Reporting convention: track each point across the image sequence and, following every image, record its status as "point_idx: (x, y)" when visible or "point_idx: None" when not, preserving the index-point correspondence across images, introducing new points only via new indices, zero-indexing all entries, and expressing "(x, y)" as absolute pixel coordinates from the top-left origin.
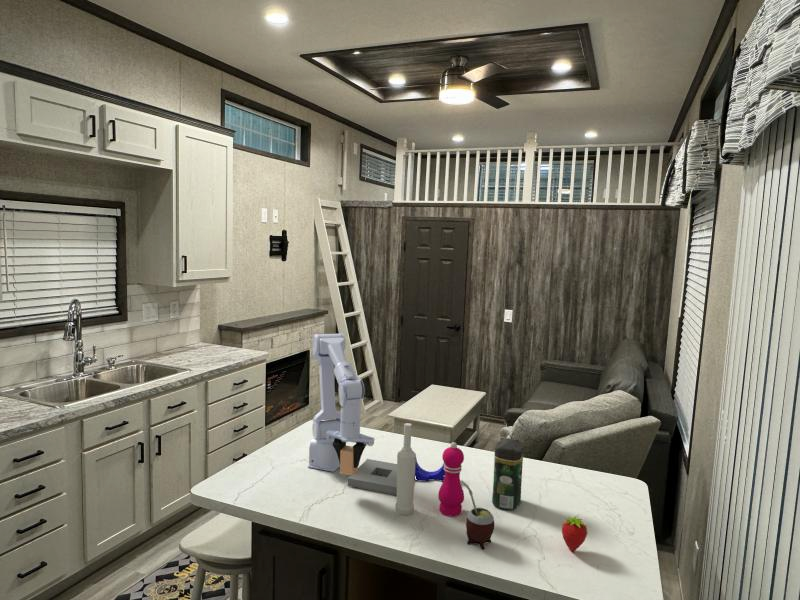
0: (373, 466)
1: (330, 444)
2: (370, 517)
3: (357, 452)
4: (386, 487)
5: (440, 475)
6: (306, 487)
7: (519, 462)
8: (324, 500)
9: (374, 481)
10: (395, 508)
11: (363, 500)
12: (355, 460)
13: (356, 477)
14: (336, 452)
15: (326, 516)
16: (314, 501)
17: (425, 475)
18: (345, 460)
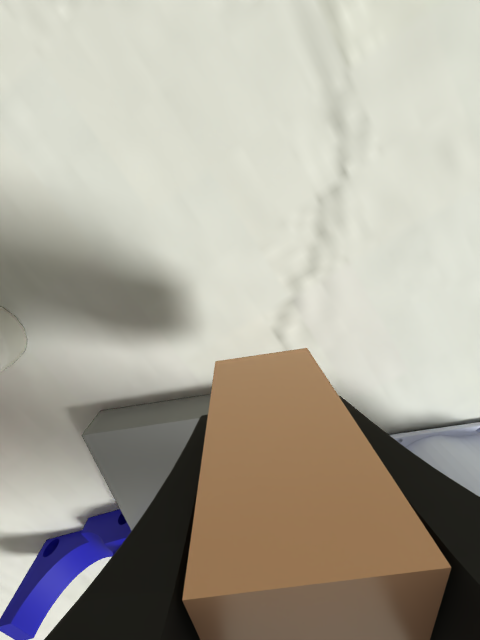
0: None
1: None
2: (51, 211)
3: (79, 631)
4: (130, 421)
5: (54, 555)
6: (435, 292)
7: None
8: (312, 235)
9: (187, 431)
10: (7, 319)
11: (173, 322)
12: (183, 468)
13: None
14: (472, 492)
15: (219, 92)
16: (348, 201)
17: (95, 537)
18: (290, 429)
